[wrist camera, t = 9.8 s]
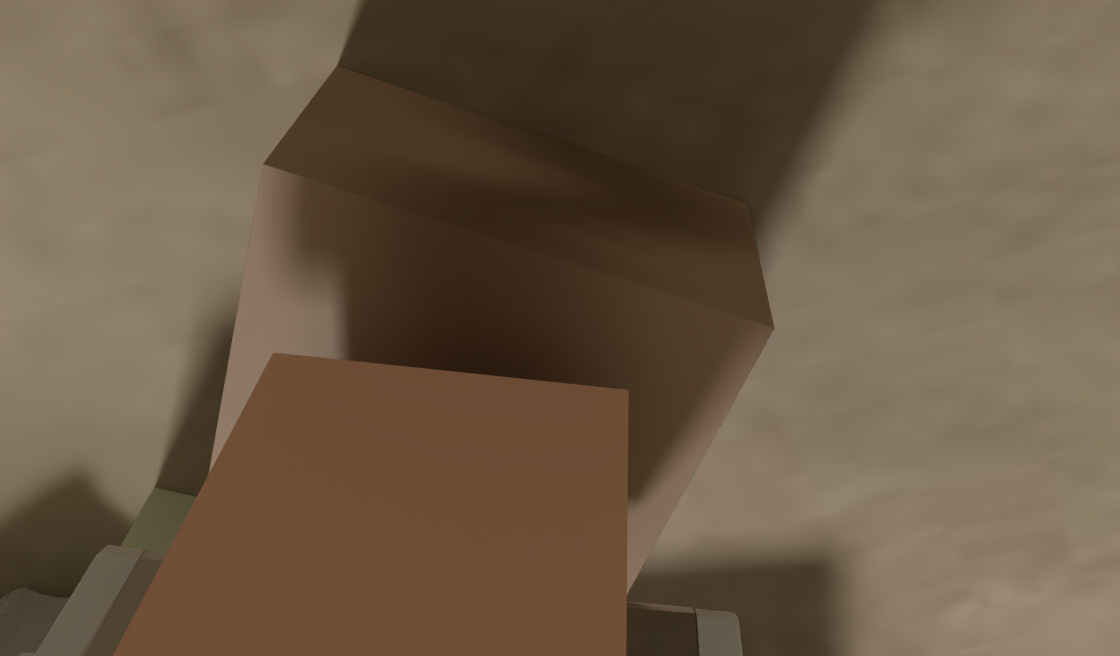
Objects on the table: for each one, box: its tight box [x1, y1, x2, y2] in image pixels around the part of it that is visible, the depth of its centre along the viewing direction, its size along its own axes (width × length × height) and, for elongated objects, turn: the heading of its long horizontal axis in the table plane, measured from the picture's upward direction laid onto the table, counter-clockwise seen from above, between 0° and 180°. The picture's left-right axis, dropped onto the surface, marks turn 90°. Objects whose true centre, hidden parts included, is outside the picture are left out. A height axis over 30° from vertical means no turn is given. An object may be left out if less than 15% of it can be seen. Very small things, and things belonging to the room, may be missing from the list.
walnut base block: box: [209, 66, 774, 594], centre depth 16 cm, size 7×7×4 cm
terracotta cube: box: [113, 353, 629, 656], centre depth 12 cm, size 4×4×5 cm
